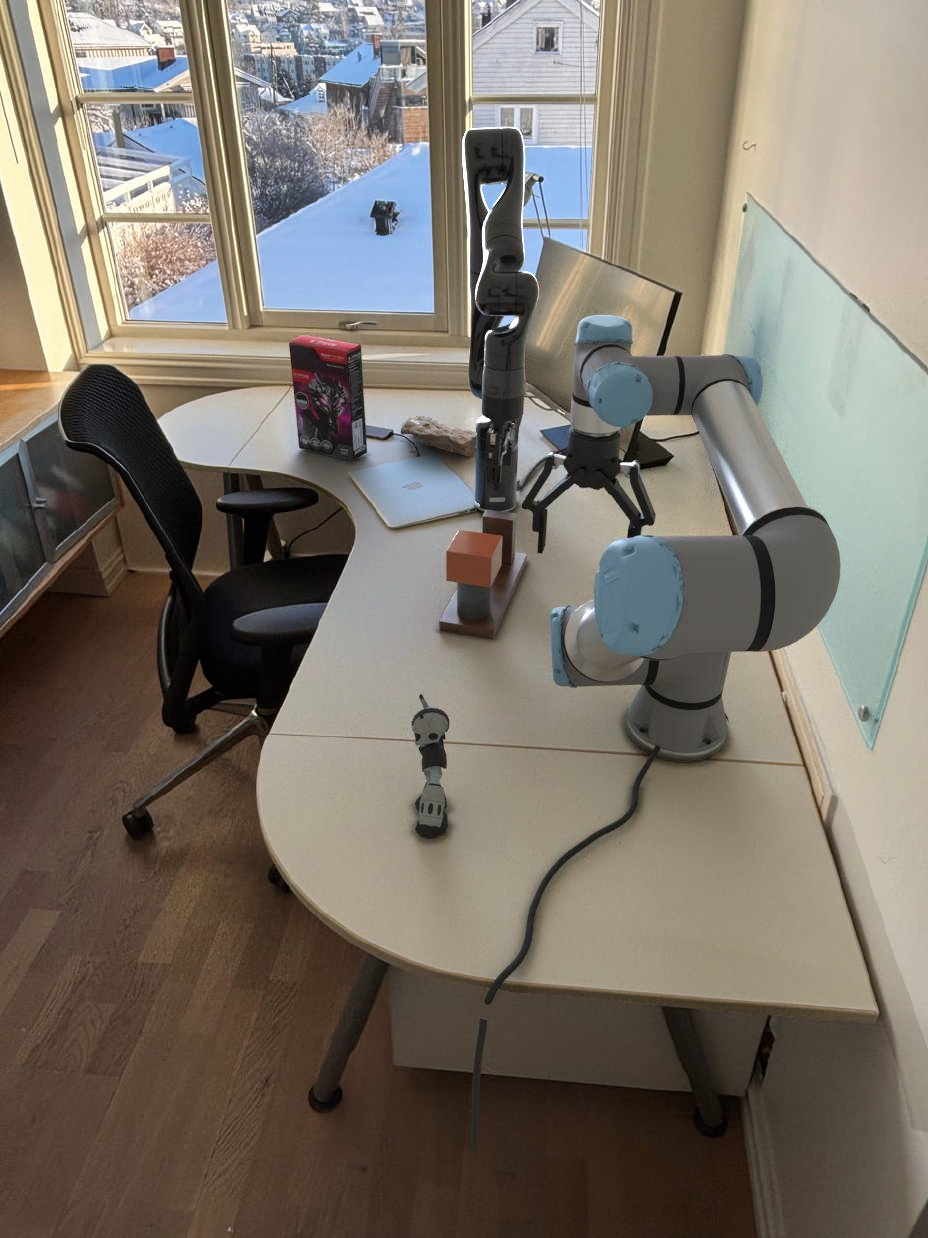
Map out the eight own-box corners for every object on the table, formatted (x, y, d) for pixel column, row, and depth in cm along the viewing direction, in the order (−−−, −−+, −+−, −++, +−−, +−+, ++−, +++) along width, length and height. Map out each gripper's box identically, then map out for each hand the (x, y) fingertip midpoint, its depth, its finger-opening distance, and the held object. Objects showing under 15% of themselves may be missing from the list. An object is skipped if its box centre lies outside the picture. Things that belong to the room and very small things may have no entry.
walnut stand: (493, 639, 163) (495, 581, 157) (439, 630, 165) (438, 573, 159) (526, 562, 186) (529, 508, 179) (478, 555, 188) (479, 502, 181)
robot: (452, 871, 119) (452, 756, 108) (414, 872, 119) (410, 757, 108) (447, 767, 136) (446, 657, 124) (413, 768, 135) (410, 658, 124)
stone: (384, 439, 228) (389, 416, 226) (404, 431, 242) (409, 408, 239) (464, 464, 225) (469, 440, 222) (479, 454, 238) (485, 431, 236)
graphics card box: (296, 449, 231) (285, 340, 216) (313, 439, 236) (303, 333, 221) (353, 463, 224) (346, 352, 209) (369, 453, 229) (363, 343, 214)
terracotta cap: (490, 587, 159) (491, 557, 155) (446, 581, 160) (446, 551, 157) (501, 564, 165) (502, 535, 162) (458, 558, 167) (458, 529, 163)
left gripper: (515, 405, 157) (511, 492, 166) (532, 378, 168) (527, 461, 177) (472, 400, 158) (470, 486, 167) (492, 374, 170) (490, 456, 179)
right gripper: (685, 427, 133) (666, 554, 145) (516, 409, 139) (511, 533, 150) (681, 447, 127) (661, 578, 139) (505, 427, 133) (501, 555, 144)
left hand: (500, 473), depth 172 cm, fingers open, 8 cm apart
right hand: (583, 555), depth 145 cm, fingers open, 13 cm apart
